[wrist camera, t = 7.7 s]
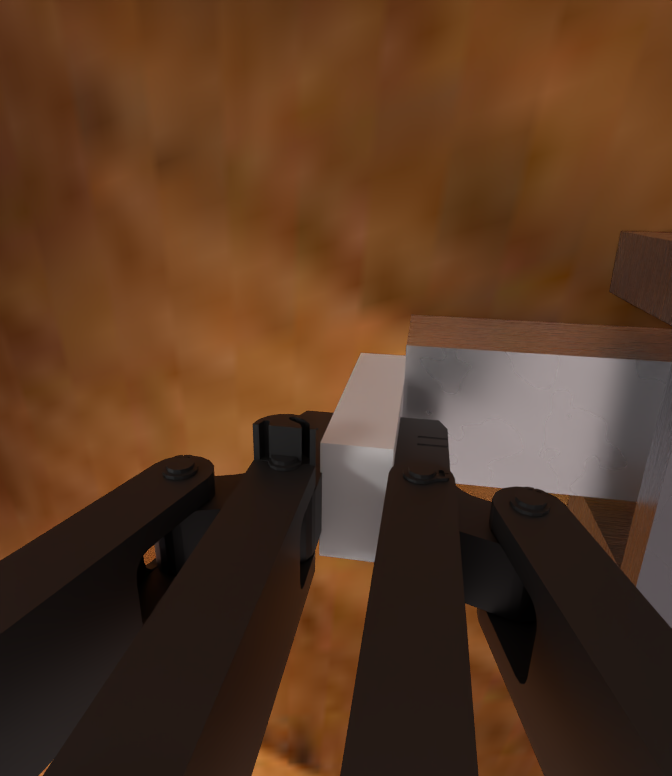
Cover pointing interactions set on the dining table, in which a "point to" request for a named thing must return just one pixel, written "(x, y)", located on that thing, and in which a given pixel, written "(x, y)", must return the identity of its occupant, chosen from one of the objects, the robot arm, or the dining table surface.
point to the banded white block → (540, 400)
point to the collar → (668, 447)
